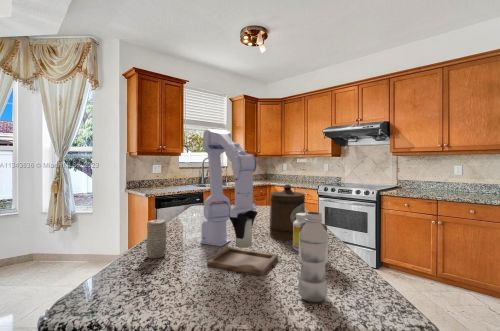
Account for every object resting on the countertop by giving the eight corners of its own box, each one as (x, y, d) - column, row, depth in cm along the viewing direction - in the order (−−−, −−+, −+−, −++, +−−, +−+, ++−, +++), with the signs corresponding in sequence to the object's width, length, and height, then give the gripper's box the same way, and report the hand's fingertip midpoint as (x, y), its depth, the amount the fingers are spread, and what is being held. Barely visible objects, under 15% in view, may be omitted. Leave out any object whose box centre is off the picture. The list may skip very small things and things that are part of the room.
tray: (207, 265, 80) (207, 260, 80) (229, 251, 93) (229, 247, 93) (262, 276, 73) (262, 271, 73) (277, 259, 86) (277, 254, 86)
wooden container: (301, 242, 104) (302, 186, 104) (265, 238, 109) (265, 185, 109) (306, 232, 118) (307, 183, 117) (274, 229, 123) (274, 182, 123)
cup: (233, 246, 82) (233, 220, 82) (240, 241, 86) (240, 217, 86) (247, 248, 80) (247, 222, 80) (254, 243, 84) (254, 218, 84)
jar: (333, 265, 81) (333, 226, 81) (312, 270, 77) (312, 229, 77) (314, 256, 89) (314, 220, 89) (294, 260, 85) (294, 223, 85)
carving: (145, 261, 84) (145, 223, 84) (147, 253, 91) (147, 218, 91) (166, 259, 86) (166, 222, 86) (166, 251, 93) (166, 217, 93)
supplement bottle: (311, 253, 92) (312, 216, 91) (292, 251, 93) (292, 215, 93) (311, 247, 98) (311, 212, 98) (293, 245, 100) (293, 212, 99)
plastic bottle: (294, 292, 64) (295, 210, 64) (321, 291, 65) (322, 210, 65) (302, 307, 58) (303, 216, 58) (332, 305, 59) (333, 215, 58)
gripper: (245, 196, 74) (245, 244, 75) (264, 191, 88) (263, 231, 88) (223, 194, 77) (223, 241, 78) (244, 189, 91) (244, 229, 91)
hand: (243, 235), depth 83 cm, fingers closed on cup, 5 cm apart
